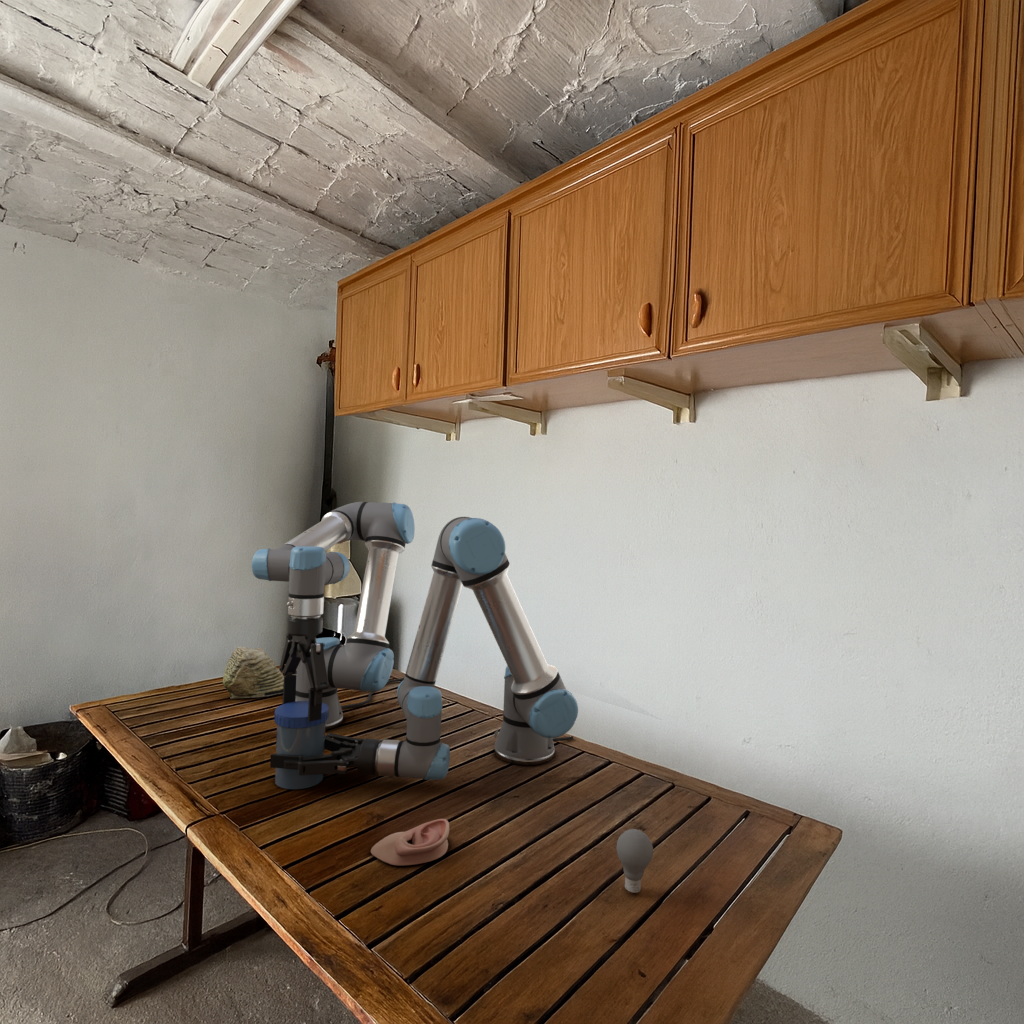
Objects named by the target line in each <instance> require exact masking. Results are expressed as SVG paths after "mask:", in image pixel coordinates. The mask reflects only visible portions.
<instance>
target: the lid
mask: <svg viewBox="0 0 1024 1024" xmlns="http://www.w3.org/2000/svg"><path fill="white" fill-rule="evenodd" d="M308 704H309V701H295V702H290V703H286V704H283V703H282V704H280V705H279V706H276V708H275V709H274V715H273V716H274V717H273V718H274V719H273V721H274V723H275V724H276V726H277V725H279V726H282V727H287V728H306V727H312V726H316V725H319V724H322V723H324V722H325V721H326V720H327V719H328V713H329V709H328V706H327V705H326V704H324V703H322V712H321V719H320V720H315V721H310V722H309V721H308Z"/></svg>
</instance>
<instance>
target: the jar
mask: <svg viewBox="0 0 1024 1024" xmlns="http://www.w3.org/2000/svg"><path fill="white" fill-rule="evenodd" d="M325 723H326V721H325V722H324V723H322V724H319V725H316V726H312V727H306V728H287V727H282V726H279V725H277V724H276V736H275V737H276V738H275V754H284V755H298V756H300V755H302V756H303V758H306V757H313V756H320V755H325V750H326V749H325V736H326V730H325ZM324 749H325V750H324ZM298 773H299V770H298V769H284V768H274V784H275V785H276V786H277V787H279V788H281V789H285V790H302V789H308V788H311V787H314V786H316V785H318V784H320V783H321V782H322V781H323V779H324V775H325V774H317V775H298Z"/></svg>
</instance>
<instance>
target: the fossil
mask: <svg viewBox="0 0 1024 1024" xmlns="http://www.w3.org/2000/svg"><path fill="white" fill-rule="evenodd" d="M222 676H223V677H222V685H223V687H224V688H225V690H226V691H228V693H229V698H230V699H250V698H264V697H271V696H275V695H281V694H283V683H284V676H283V674H282V671H280V670H279V668H278V667H277V665H276V663H275V662H274V660H273V659H272V658H271V657H270V656H269V655H268V654H267V653H266V652H265V650H264V649H263V648H260V647H258V648H251V647H247V646H246V647H245V646H238V647H237V648H236V649H235V650H233V651H232V653H231V656H230V657H229V659H228V660H227V663H226V666H225V668H224V671H223V675H222Z"/></svg>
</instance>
